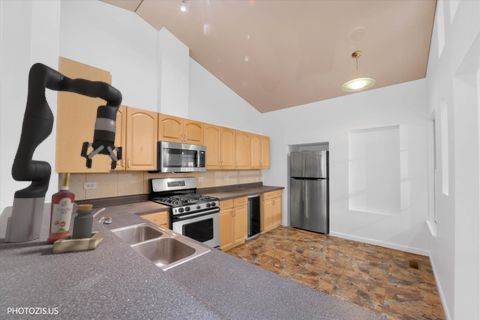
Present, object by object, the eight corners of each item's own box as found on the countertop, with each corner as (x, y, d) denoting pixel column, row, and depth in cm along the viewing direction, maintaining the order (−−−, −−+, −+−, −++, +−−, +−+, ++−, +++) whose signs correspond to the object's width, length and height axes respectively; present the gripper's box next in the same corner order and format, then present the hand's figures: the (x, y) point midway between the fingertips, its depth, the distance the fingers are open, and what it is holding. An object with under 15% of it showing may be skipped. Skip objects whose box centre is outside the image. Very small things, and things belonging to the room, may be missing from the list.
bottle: (94, 243, 77) (97, 204, 79) (77, 247, 72) (82, 206, 73) (84, 241, 79) (88, 203, 80) (67, 245, 73) (71, 205, 75)
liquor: (48, 246, 74) (57, 172, 77) (43, 242, 78) (52, 172, 81) (72, 241, 80) (80, 173, 83) (66, 238, 84) (74, 173, 87)
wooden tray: (52, 253, 67) (54, 242, 67) (67, 243, 78) (68, 233, 78) (94, 249, 72) (95, 239, 72) (102, 240, 83) (103, 231, 83)
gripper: (118, 135, 90) (115, 170, 88) (81, 128, 78) (76, 168, 76) (127, 133, 86) (123, 170, 84) (88, 125, 74) (84, 167, 72)
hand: (101, 169), depth 80 cm, fingers open, 8 cm apart
